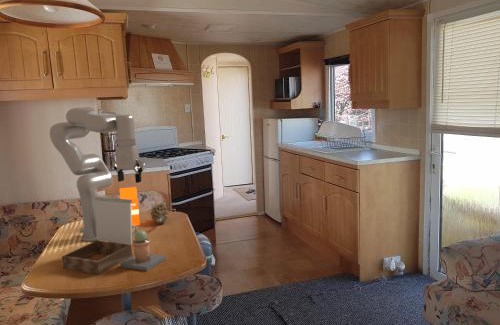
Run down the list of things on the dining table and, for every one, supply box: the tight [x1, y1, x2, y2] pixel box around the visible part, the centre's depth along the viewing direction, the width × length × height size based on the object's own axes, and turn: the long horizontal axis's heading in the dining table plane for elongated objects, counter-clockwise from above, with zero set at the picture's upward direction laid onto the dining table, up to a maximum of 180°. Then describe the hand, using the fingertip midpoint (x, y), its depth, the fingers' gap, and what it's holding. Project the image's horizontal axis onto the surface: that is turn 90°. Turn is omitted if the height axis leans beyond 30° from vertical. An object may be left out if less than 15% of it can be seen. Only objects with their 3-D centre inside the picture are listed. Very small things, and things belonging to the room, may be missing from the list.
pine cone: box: [150, 203, 169, 225], centre depth 216 cm, size 22×10×10 cm, turn 14°
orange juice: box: [119, 186, 141, 226], centre depth 219 cm, size 8×9×20 cm
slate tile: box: [119, 253, 166, 272], centre depth 166 cm, size 13×12×2 cm
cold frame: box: [61, 240, 133, 275], centre depth 169 cm, size 19×19×5 cm
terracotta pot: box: [132, 230, 151, 262], centre depth 165 cm, size 7×7×12 cm
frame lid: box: [95, 196, 133, 245], centre depth 177 cm, size 19×19×1 cm
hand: (129, 181), depth 181 cm, fingers open, 9 cm apart
